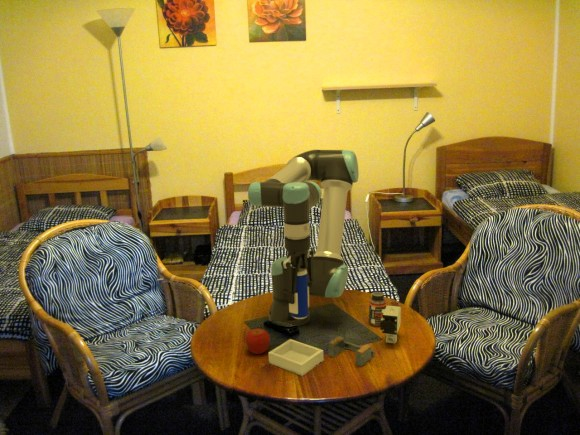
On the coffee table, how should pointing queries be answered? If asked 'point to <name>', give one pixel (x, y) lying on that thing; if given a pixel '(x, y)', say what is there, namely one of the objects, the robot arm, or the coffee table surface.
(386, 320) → the pneumatic valve
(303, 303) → the beverage can
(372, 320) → the supplement bottle
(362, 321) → the coffee table surface
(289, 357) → the tray
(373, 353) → the fuse holder
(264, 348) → the apple
